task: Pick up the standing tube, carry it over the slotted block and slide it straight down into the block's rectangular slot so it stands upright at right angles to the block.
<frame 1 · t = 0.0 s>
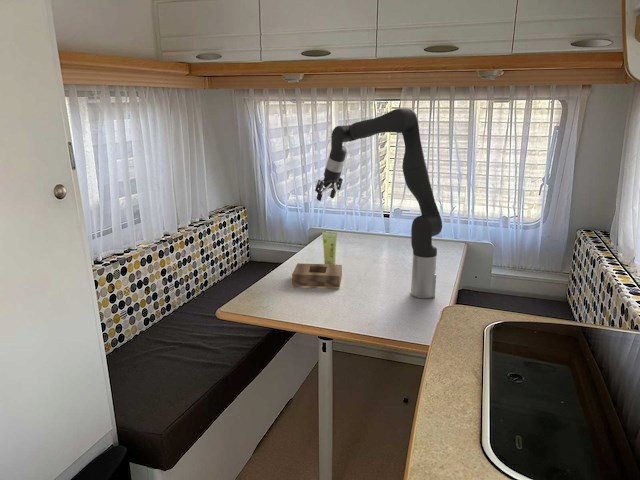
hand: (325, 198, 225), 31 cm above the table, tool tilted 20°, fingers open, 8 cm apart
tube: (329, 272, 220), on the table
slotted block: (317, 282, 208), on the table
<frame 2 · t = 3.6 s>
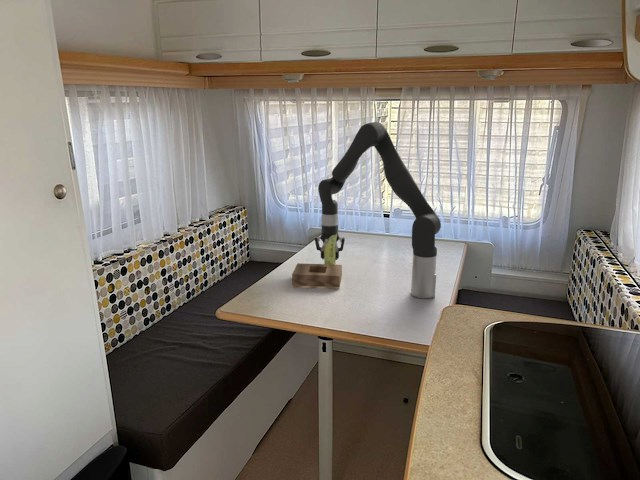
hand: (329, 259, 218), 7 cm above the table, tool pointing down, fingers closed on tube, 5 cm apart
tube: (329, 272, 220), on the table, touching gripper
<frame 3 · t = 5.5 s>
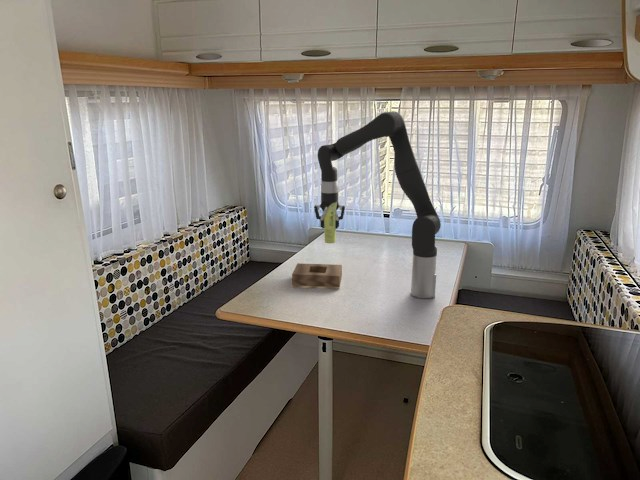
hand: (329, 228, 214), 21 cm above the table, tool pointing down, fingers closed on tube, 5 cm apart
tube: (329, 242, 216), point 14 cm above the table, touching gripper
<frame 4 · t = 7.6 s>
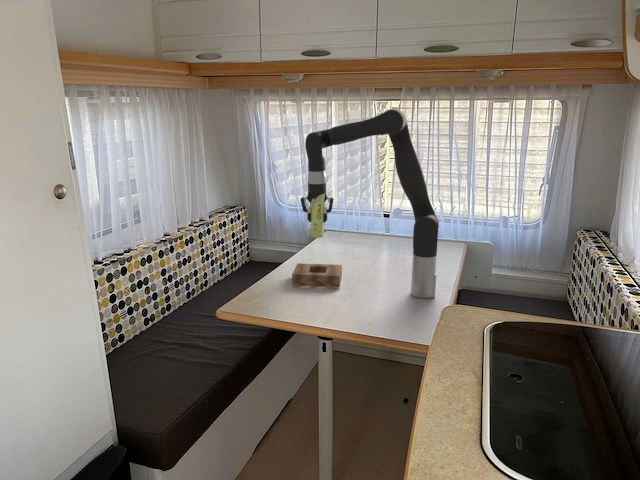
hand: (317, 221, 200), 27 cm above the table, tool pointing down, fingers closed on tube, 5 cm apart
tube: (317, 237, 202), point 21 cm above the table, touching gripper
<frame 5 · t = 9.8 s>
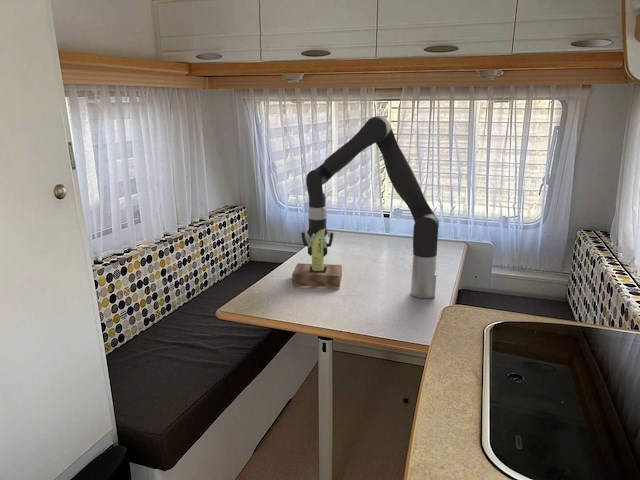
hand: (317, 255, 204), 12 cm above the table, tool pointing down, fingers closed on tube, 5 cm apart
tube: (317, 269, 206), point 6 cm above the table, touching gripper
when the fingers open (9 cm above the table, at t = 11.7 s): tube drops 1 cm, resting on slotted block.
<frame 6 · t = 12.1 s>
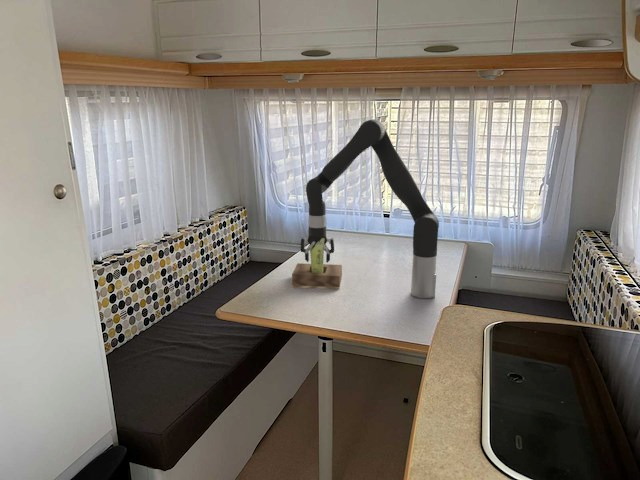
hand: (317, 261, 205), 10 cm above the table, tool pointing down, fingers open, 8 cm apart
tube: (317, 280, 208), point 1 cm above the table, touching slotted block
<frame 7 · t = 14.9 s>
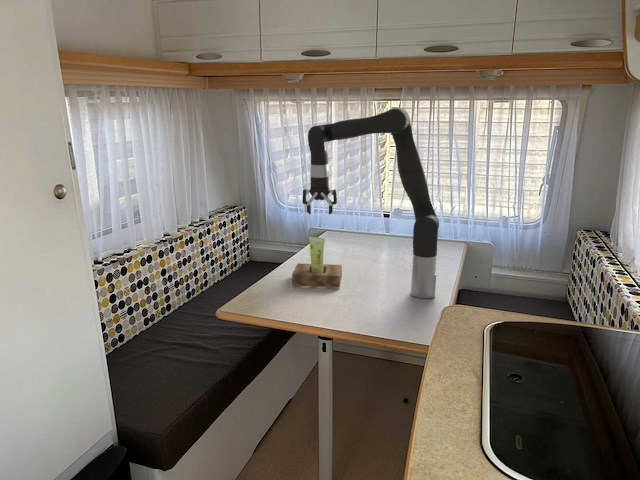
hand: (319, 213, 200), 30 cm above the table, tool pointing down, fingers open, 8 cm apart
nothing on the table moved.
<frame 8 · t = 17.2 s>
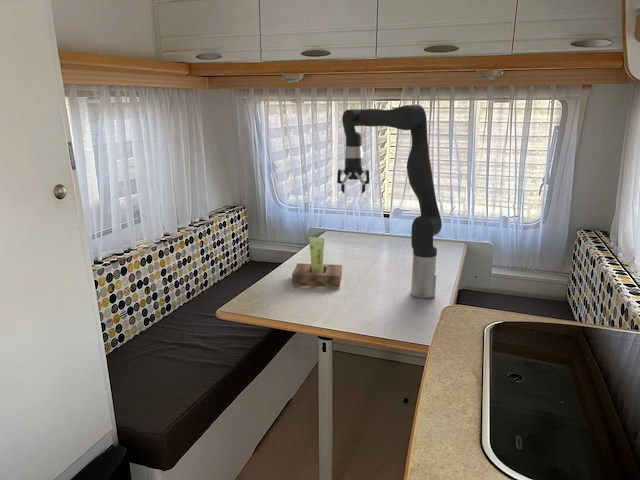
hand: (353, 192, 214), 36 cm above the table, tool pointing down, fingers open, 8 cm apart
nothing on the table moved.
at the end: tube 0.2 cm off-centre on the slotted block, point 0.8 cm above the slotted block's base; tube tilted 0°; the gripper is holding nothing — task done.
